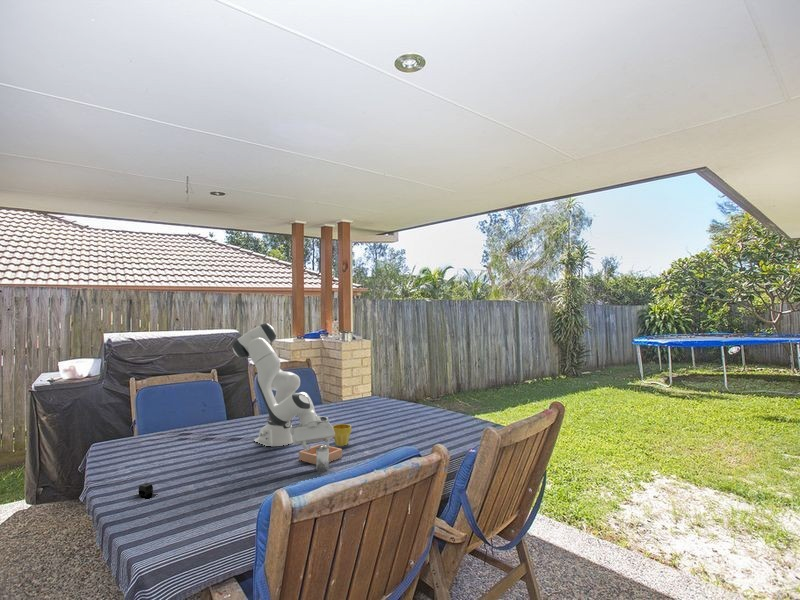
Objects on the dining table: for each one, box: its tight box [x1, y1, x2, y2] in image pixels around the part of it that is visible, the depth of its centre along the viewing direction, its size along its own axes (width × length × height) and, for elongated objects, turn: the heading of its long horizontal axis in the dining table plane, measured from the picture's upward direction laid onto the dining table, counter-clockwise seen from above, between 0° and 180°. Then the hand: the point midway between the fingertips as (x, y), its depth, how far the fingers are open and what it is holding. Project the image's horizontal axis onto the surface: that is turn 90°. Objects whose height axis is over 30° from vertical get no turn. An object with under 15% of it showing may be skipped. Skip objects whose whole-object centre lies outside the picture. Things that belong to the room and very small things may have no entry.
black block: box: [133, 482, 159, 500], centre depth 170 cm, size 12×7×5 cm, turn 67°
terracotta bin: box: [298, 443, 343, 465], centre depth 214 cm, size 15×15×4 cm
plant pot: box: [332, 423, 352, 447], centre depth 237 cm, size 10×10×10 cm
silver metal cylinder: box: [315, 444, 330, 472], centre depth 199 cm, size 6×6×11 cm
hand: (318, 449), depth 201 cm, fingers open, 8 cm apart
